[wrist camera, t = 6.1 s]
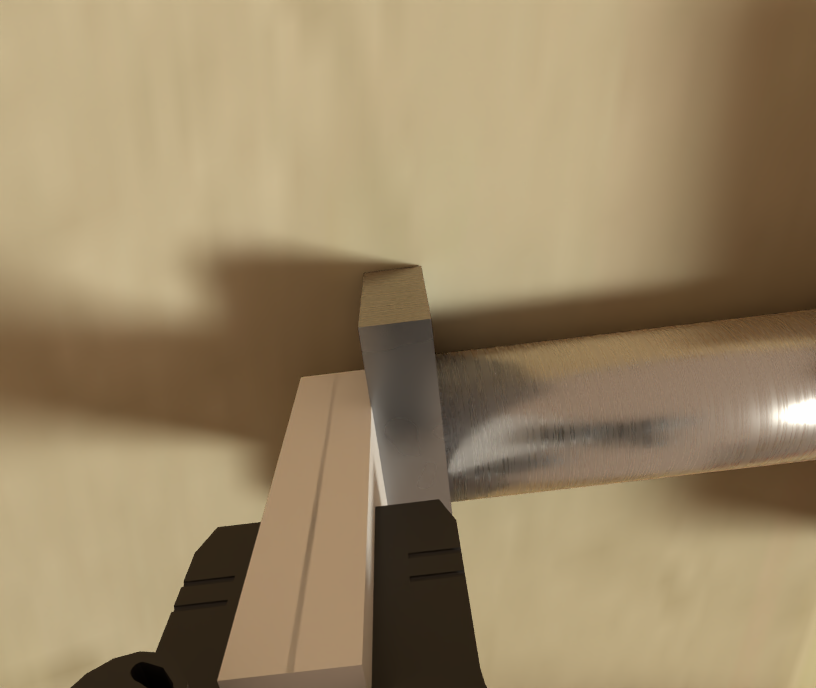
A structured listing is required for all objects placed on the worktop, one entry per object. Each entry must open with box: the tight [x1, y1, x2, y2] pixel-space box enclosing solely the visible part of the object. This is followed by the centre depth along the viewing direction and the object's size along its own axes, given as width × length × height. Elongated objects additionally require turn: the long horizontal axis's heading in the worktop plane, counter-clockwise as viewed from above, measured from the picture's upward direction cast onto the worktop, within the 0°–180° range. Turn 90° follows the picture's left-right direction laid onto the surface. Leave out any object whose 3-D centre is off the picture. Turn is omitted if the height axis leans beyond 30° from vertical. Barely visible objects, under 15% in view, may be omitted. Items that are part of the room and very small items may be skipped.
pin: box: [358, 266, 816, 514], centre depth 12 cm, size 13×6×3 cm, turn 97°
